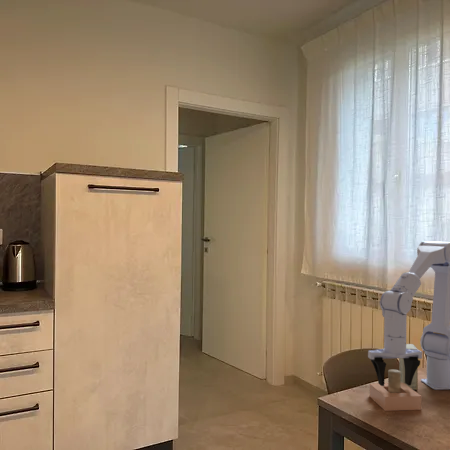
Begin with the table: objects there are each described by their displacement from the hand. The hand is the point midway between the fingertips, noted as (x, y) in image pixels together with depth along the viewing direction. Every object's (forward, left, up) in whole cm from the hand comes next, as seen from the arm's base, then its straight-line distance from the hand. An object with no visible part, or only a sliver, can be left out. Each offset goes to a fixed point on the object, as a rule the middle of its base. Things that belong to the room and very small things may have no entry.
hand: (394, 384), depth 123 cm
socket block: (0, 0, -5) cm, 5 cm away
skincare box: (-10, -12, -5) cm, 16 cm away
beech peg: (0, 0, -4) cm, 4 cm away
